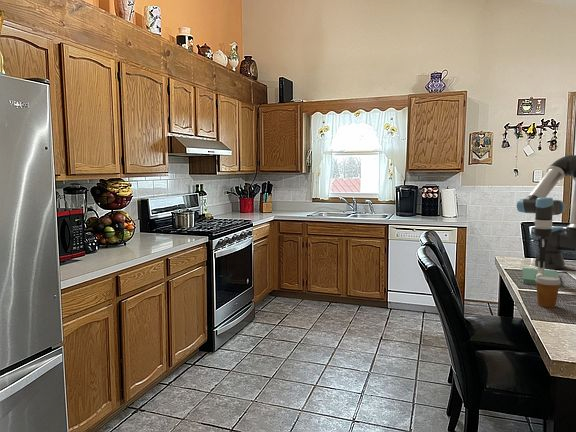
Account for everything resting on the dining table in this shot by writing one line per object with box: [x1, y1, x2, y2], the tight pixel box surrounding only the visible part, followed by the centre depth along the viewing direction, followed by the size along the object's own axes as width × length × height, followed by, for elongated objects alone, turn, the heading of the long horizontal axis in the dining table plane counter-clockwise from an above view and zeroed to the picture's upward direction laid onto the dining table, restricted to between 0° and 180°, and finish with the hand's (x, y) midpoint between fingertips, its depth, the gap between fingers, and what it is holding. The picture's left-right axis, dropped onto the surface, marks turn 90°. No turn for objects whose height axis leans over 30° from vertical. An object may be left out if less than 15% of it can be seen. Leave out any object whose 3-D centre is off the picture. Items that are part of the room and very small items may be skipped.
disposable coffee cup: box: [535, 275, 562, 308], centre depth 184 cm, size 10×10×12 cm
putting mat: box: [521, 267, 562, 288], centre depth 226 cm, size 26×16×2 cm, turn 153°
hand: (540, 273), depth 224 cm, fingers closed
